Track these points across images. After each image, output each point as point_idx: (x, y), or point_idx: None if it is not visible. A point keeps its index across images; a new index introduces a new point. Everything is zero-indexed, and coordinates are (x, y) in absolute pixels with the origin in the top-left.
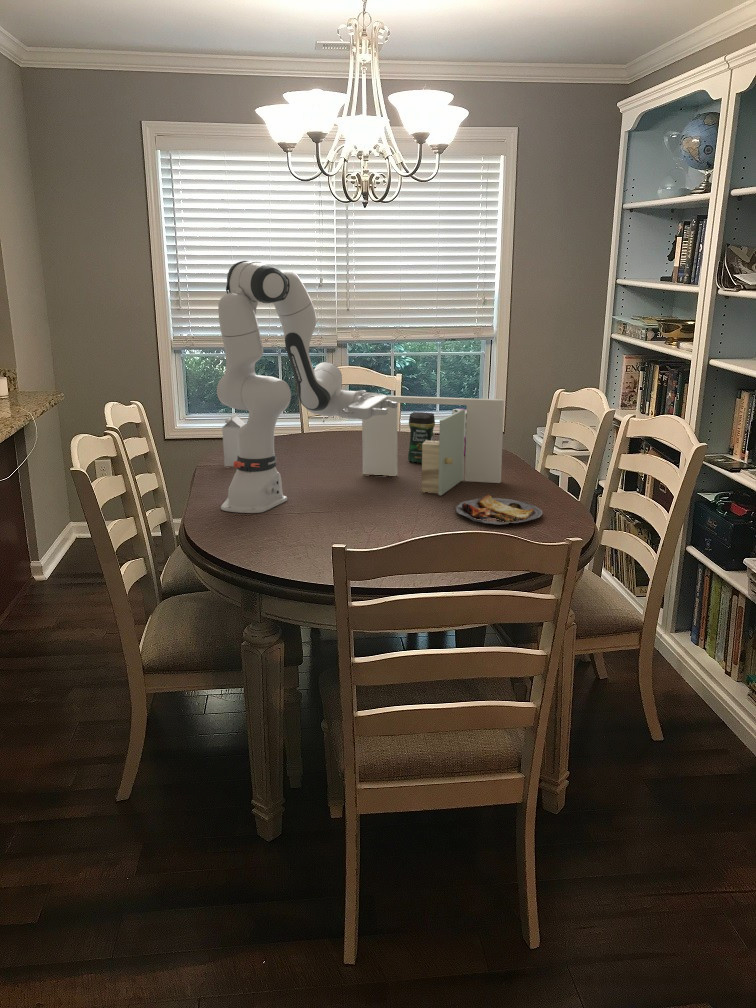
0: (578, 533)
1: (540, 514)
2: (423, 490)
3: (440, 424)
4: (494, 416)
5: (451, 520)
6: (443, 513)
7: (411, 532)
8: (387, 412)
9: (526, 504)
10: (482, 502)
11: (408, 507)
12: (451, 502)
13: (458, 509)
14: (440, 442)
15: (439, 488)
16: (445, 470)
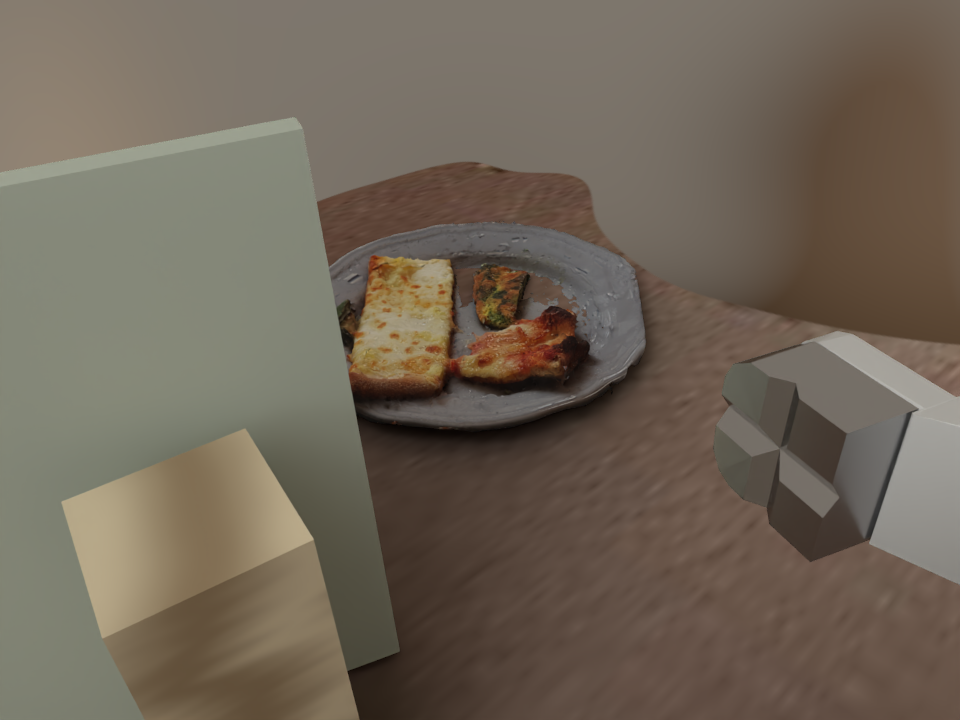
0: (448, 173)
1: (402, 234)
2: None
3: (308, 168)
4: None
5: (681, 377)
6: (639, 446)
7: (948, 372)
8: (739, 418)
9: None
10: (436, 369)
11: (740, 617)
12: (451, 533)
13: (601, 376)
14: (337, 330)
15: (391, 615)
16: None
